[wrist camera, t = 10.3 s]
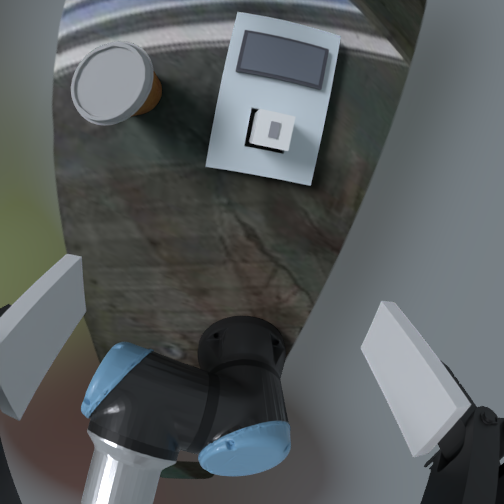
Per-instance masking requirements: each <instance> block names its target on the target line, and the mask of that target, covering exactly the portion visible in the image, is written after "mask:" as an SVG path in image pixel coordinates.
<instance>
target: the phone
mask: <svg viewBox="0 0 504 504" xmlns="http://www.w3.org/2000/svg"><path fill="white" fill-rule="evenodd" d="M328 53H329V49H327V48H323V47H320V46H316V45H313V44H309V43H305V42H301V41H298V40H293V39H289V38H285V37H280V36H276V35H271V34H266V33H261V32H255V31H249V30H245V31H244V36H243V40H242V44H241V49H240V53H239V57H238V62H237V66H236V72H239V73H245V74H251V75H256V76H262V77H267V78H272V79H276V80H281V81H285V82H290V83H294V84H298V85H302V86H306V87H310V88H314V89H317V90H321V89H322V85H323V80H324V74H325V69H326V64H327V58H328Z"/></svg>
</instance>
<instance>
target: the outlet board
mask: <svg viewBox="0 0 504 504" xmlns="http://www.w3.org/2000/svg"><path fill="white" fill-rule="evenodd" d="M245 30H249V31H255V32H261V33H266V34H271V35H276V36H280V37H285V38H289V39H293V40H298V41H301V42H305V43H309V44H313V45H316V46H320V47H323V48H327V49H329V53H328V58H327V64H326V69H325V74H324V80H323V85H322V89H321V90H317V89H314V88H310V87H306V86H302V85H298V84H294V83H290V82H285V81H281V80H276V79H272V78H267V77H262V76H256V75H251V74H245V73H239V72H236V66H237V62H238V57H239V53H240V49H241V44H242V40H243V36H244V31H245ZM340 38H341V36H339V35H336V34H333V33H330V32H326V31H323V30H320V29H316V28H313V27H309V26H305V25H301V24H297V23H293V22H289V21H285V20H280V19H275V18H271V17H265V16H260V15H254V14H248V13H242V12H238V13H237V17H236V21H235V25H234V29H233V33H232V37H231V41H230V45H229V50H228V54H227V58H226V63H225V67H224V72H223V76H222V81H221V86H220V91H219V96H218V101H217V106H216V111H215V116H214V121H213V127H212V132H211V137H210V143H209V149H208V155H207V160H206V166H205V167H211V168H218V169H224V170H230V171H236V172H242V173H248V174H253V175H259V176H264V177H270V178H275V179H280V180H285V181H290V182H295V183H300V184H304V185H309V186H311V182H312V178H313V173H314V169H315V165H316V160H317V156H318V151H319V146H320V142H321V137H322V132H323V128H324V123H325V118H326V113H327V108H328V103H329V98H330V93H331V88H332V83H333V77H334V72H335V67H336V61H337V56H338V50H339V44H340ZM251 109H255V110H259V109H264V110H268V111H273V112H278V113H282V114H287V115H291V116H295V122H294V127H293V131H292V136H291V141H290V145H289V150H288V151H285V150H282V153H279V152H274V151H269V150H264V149H258V148H253V147H247V146H244V144H245V139H246V134H247V129H248V124H249V119H250V114H251Z"/></svg>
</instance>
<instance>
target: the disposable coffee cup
mask: <svg viewBox="0 0 504 504" xmlns="http://www.w3.org/2000/svg"><path fill="white" fill-rule="evenodd" d="M71 95H72V100H73V103H74V105H75V107H76V108H77V110H78V112H79V113H80V114H81V115H82V117H84V118H85V119H86V120H88V121H89V122H91V123H94V124H97V125H113V124H116V123H119V122H122V121H124V120H126V119H127V118H129V117H132V116H136V115H140V114H145V113H147V112H149V111H151V110H152V109H153V108H154V107H155V106H156V105H157V104H158V102H159V100H160V98H161V95H162V86H161V82H160V81H159V79H158V77H157V76H156V74H155V72H154V71H153V66H152V62H151V60H150V58H149V56H148V54H147V53H146V52H145V51H144V50H143V49H142V48H141V47H139V46H137V45H136V44H134V43H130V42H124V41H118V42H112V43H108V44H104V45H102V46H99V47H97V48H95V49H94V50H92V51H91V52H90V53H89V54H87V55H86V56H85V57H84V59H83V60H82V61H81V62H80V64H79V65H78V67H77V69H76V71H75V73H74V76H73V79H72V84H71Z"/></svg>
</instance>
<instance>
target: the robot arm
mask: <svg viewBox="0 0 504 504" xmlns="http://www.w3.org/2000/svg"><path fill="white" fill-rule="evenodd" d="M85 312H86V306H85V297H84V285H83V272H82V257H80V256H75V255H70V254H66V255H65V256H64V257H63V258H62V259H60V260H59V261H58V262H57V263H56V264H55V265H54V266H53V267H51V268H50V269H49V270H48V271H47V272H46V273H45V274H44V275H43V276H42V277H41V278H40V279H38V280H37V281H36V282H35V283H34V284H33V285H32V286H31V287H30V288H29V289H28V290H27V291H26V292H25V293H24V294H23V295H22V296H21V297H20V298H19V299H18V300H17V301H16V302H15V303H14V304H13V305H9V304H8V305H6V306H4V307H2V308H0V409H1V410H2V412H3V413H5V414H7V415H9V416H11V417H13V418H15V419H17V420H20V419H21V417H22V415H23V413H24V411H25V409H26V407H27V406H28V404H29V402H30V400H31V398H32V397H33V395H34V393H35V391H36V389H37V388H38V386H39V384H40V383H41V381H42V379H43V377H44V376H45V374H46V372H47V371H48V369H49V368H50V366H51V364H52V363H53V361H54V359H55V358H56V356H57V355H58V353H59V351H60V350H61V348H62V347H63V345H64V344H65V342H66V340H67V339H68V338H69V336H70V335H71V333H72V331H73V330H74V328H75V327H76V325H77V324H78V323H79V321H80V320H81V318H82V317H83V315H84V314H85ZM361 350H362V352H363V354H364V356H365V358H366V360H367V362H368V364H369V366H370V368H371V370H372V372H373V374H374V376H375V378H376V380H377V382H378V384H379V386H380V388H381V390H382V392H383V394H384V396H385V397H386V400H387V402H388V404H389V406H390V408H391V410H392V412H393V415H394V417H395V419H396V421H397V423H398V425H399V427H400V429H401V432H402V434H403V436H404V438H405V440H406V443H407V445H408V447H409V449H410V451H411V454H412V456H413V457H416V456H420V455H424V454H427V453H429V452H430V451H431V450H432V449H433V448H434V447H435V446H436V445H437V444H438V445H439V447H440V450H439V451H438V452H437V453H436V454H435V455H434V456H433V457H432V458H431V459H430V460H429V461H427V462H426V464H425V465H424V467H427V466H428V465H429V464H430V463H431V462H433V465H432V466H431V467H430V468H429V469H431V473H430V476H429V480H428V483H427V486H426V489H425V492H424V495H423V498H422V501H421V504H504V463H503V464H502V465H500V461H499V460H500V459H501V458H502V457H504V418H498V417H497V415H496V414H495V413H494V412H493V411H492V410H491V409H489V408H488V407H484V406H481V407H478V408H477V407H476V405H475V404H474V403H473V401H472V400H471V398H470V397H469V395H468V394H467V393H466V391H465V389H464V388H463V387H462V385H461V384H459V381H458V380H457V378H456V377H454V374H453V373H452V371H451V370H450V369H449V367H448V366H447V365H445V364H444V363H443V362H442V361H441V360H440V359H439V358H438V357H437V356H436V354H435V353H434V352H433V350H432V349H431V348H430V346H429V345H428V344H427V342H426V341H425V340H424V338H423V337H422V336H421V335H420V333H419V332H418V331H417V330H416V328H415V327H414V326H413V324H412V323H411V322H410V321H409V320H408V318H407V317H406V316H405V315H404V313H403V312H402V311H401V310H400V308H399V307H398V306H397V305H396V304H395V302H388V301H381V303H380V306H379V308H378V310H377V312H376V315H375V317H374V319H373V322H372V324H371V326H370V329H369V331H368V333H367V335H366V337H365V339H364V342H363V344H362V346H361ZM285 358H286V350H285V345H284V341H283V338H282V336H281V334H280V333H279V331H278V330H277V329H276V328H275V327H274V326H273V325H271V324H270V323H268V322H266V321H264V320H262V319H259V318H255V317H250V316H234V317H229V318H225V319H222V320H220V321H218V322H216V323H214V324H212V325H211V326H210V327H209V328H208V329H206V331H205V332H204V333H203V335H202V336H201V338H200V341H199V347H198V361H199V365H200V368H201V369H199V368H196V367H193V366H190V365H188V364H185V363H182V362H179V361H177V360H174V359H171V358H169V357H166V356H164V355H161V354H159V353H156V352H154V350H153V349H146V348H143V347H140V346H137V345H135V344H132V343H129V342H120V343H118V344H116V345H115V346H113V347H112V348H111V349H110V351H109V352H108V353H107V355H106V356H105V358H104V359H103V361H102V362H101V364H100V366H99V367H98V369H97V371H96V373H95V375H94V377H93V379H92V381H91V383H90V385H89V387H88V389H87V392H86V396H85V398H84V401H83V403H82V406H81V411H82V413H83V414H84V415H85V416H86V417H87V418H91V420H90V423H89V427H88V430H87V432H88V434H89V436H90V438H91V439H92V441H93V443H94V446H95V450H94V454H93V457H92V461H91V465H90V469H89V472H88V476H87V481H86V485H85V489H84V493H83V498H82V502H81V504H153V500H154V496H155V492H156V488H157V484H158V480H159V477H160V473H161V471H162V470H163V469H164V468H166V467H168V466H171V465H173V464H175V463H176V461H177V457H178V453H179V450H183V451H187V452H191V453H194V454H198V455H199V458H198V459H199V462H200V464H201V466H202V468H203V469H205V470H207V471H208V472H210V473H213V474H217V475H221V476H244V475H251V474H255V473H259V472H263V471H265V470H268V469H270V468H272V467H274V466H276V465H278V464H279V463H280V462H282V461H283V460H284V459H285V458H286V457H287V455H288V453H289V451H290V448H291V442H290V425H289V423H288V418H287V413H286V408H285V402H284V397H283V392H282V387H281V381H280V378H281V374H282V370H283V366H284V363H285ZM0 504H22V503H21V500H20V498H19V495H18V493H17V490H16V487H15V485H14V482H13V479H12V476H11V473H10V470H9V467H8V464H7V460H6V457H5V453H4V450H3V446H2V442H1V438H0Z"/></svg>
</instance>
